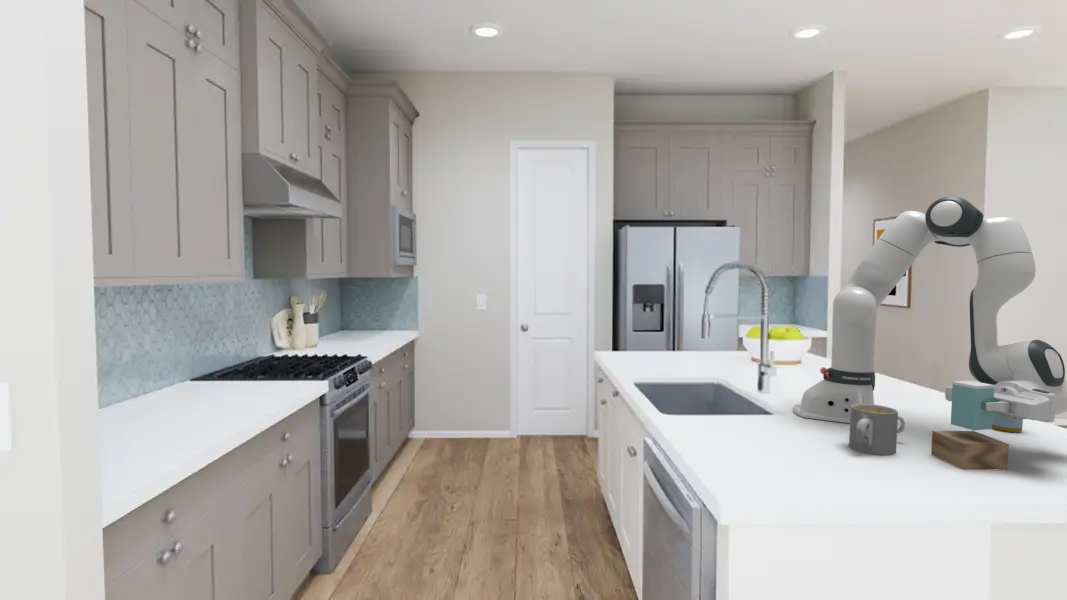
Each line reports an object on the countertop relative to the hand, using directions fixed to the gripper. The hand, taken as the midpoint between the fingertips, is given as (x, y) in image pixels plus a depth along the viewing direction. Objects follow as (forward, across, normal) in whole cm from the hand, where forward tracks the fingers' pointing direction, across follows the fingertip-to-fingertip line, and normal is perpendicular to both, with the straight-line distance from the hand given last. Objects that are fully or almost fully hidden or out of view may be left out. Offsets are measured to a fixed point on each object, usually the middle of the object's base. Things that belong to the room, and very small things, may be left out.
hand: (969, 402), depth 132 cm
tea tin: (-1, 0, +6) cm, 6 cm away
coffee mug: (+15, -13, +14) cm, 24 cm away
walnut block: (-1, 0, +14) cm, 14 cm away
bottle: (-39, -18, +14) cm, 45 cm away
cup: (+5, -18, +14) cm, 24 cm away
